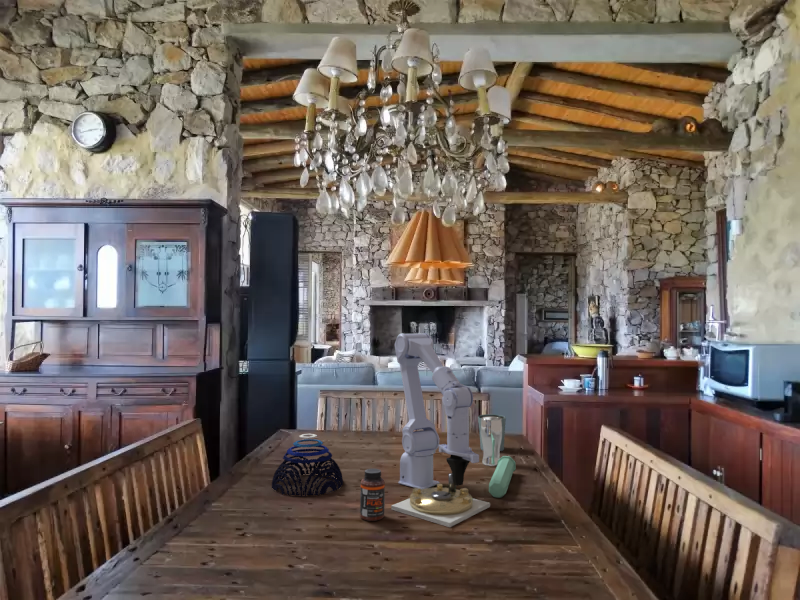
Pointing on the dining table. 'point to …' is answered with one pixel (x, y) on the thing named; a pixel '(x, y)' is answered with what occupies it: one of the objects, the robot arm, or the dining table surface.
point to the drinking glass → (503, 420)
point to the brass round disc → (441, 499)
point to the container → (502, 476)
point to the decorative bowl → (321, 460)
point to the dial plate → (441, 519)
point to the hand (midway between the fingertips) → (458, 484)
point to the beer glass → (491, 439)
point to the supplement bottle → (372, 495)
